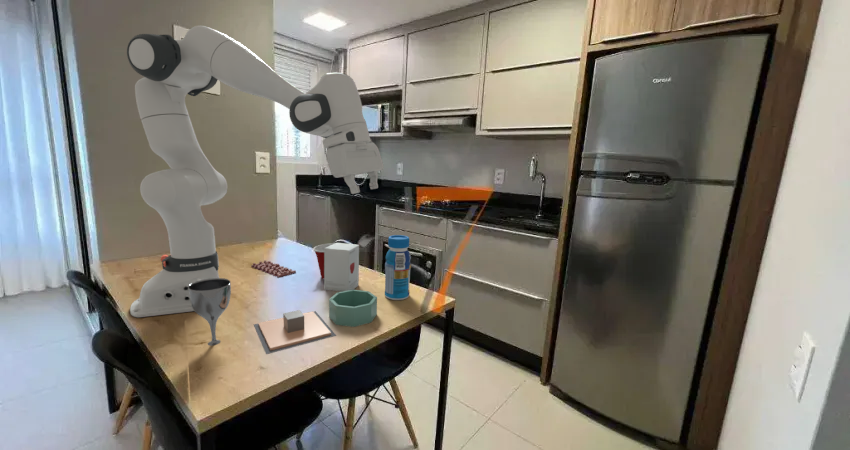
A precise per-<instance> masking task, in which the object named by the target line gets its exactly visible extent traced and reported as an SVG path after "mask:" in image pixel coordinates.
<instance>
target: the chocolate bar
mask: <svg viewBox="0 0 850 450" xmlns="http://www.w3.org/2000/svg"><path fill="white" fill-rule="evenodd" d="M251 268H253V269H256V270H258V271H261V272H264V273H265V274H269V275H272V276H274V277H277V278H281V277H285V276H290V275H292V274H296V272H297V271H296V270H295V269H294V270H293V269H292V268H288V267H284V265H283V266H281V265H280V264H279V263H273V262H272V261H270V260H269V261H267V260H263V262H262V261H259V263H256V262H253V263H252V264H251Z"/></svg>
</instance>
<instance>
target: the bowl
mask: <svg viewBox="0 0 850 450" xmlns="http://www.w3.org/2000/svg"><path fill="white" fill-rule="evenodd" d="M328 310H329V311H328V313H329V314H328V315H329V317H328V318H329V319H330V320H331V321H332V322H333V324H335V326H345V327H351V328H352V327H353V328H355V327H358V326H363V325H367V324H370V323H372V322H373V320H374V319H375V317H376V316H377V315H378V314H377V313H378V297H377V296H376V295H375V294H374V293H372V292H371V291H368V290H360V289H358V290H357V289H354V290H348V291H343V292H342V291H337V292H336V293H335V294H334V295H332V296H331V297H330V298H329V299H328Z"/></svg>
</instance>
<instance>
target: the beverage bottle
mask: <svg viewBox="0 0 850 450" xmlns="http://www.w3.org/2000/svg"><path fill="white" fill-rule="evenodd" d="M387 242H388V243H387V245H388V246H387V247H388V248H389V249H388V251H387V252H386V253H385V254H386V255H385V263H384V269H385V270H384V271H385V272H384V273H385V276H384V279H385V280H384V284H385V285H384V296H385V298H387V299H389V300H393V301H403V300H406V299H408V298H409V297H410V280H411V268H412V263H411V259H412V256H411V253H410V251H409V249H408V248H410V237H409V236H407V235H401V234H393V235H390V236H388V241H387Z"/></svg>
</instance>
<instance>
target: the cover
mask: <svg viewBox="0 0 850 450" xmlns="http://www.w3.org/2000/svg"><path fill="white" fill-rule="evenodd" d="M282 316H283V317H279V318H275V319H271V320H266V321H265V320H264V321H261V322H258V323H257V324H258V325H259V327H260V330H261V332H262V334H263V336H264V338H265V340H266V342H267V345H268V347H269V349H270V351H271V350H275V349H278V348H282V347H286V346H290V345H294V344H298V343H301V342H305V341H309V340H313V339H317V338H320V337H324V336H328V335H331V332H330V331H329V329H328V328H327V327H326V326H325V325H324V324H323V322H322V321H321V320H320V319H319V318H318V316H317V315H316V314H315V313H314V311H309V312H302V310H300V309H298V310H293V311H287V312H283V315H282Z"/></svg>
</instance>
